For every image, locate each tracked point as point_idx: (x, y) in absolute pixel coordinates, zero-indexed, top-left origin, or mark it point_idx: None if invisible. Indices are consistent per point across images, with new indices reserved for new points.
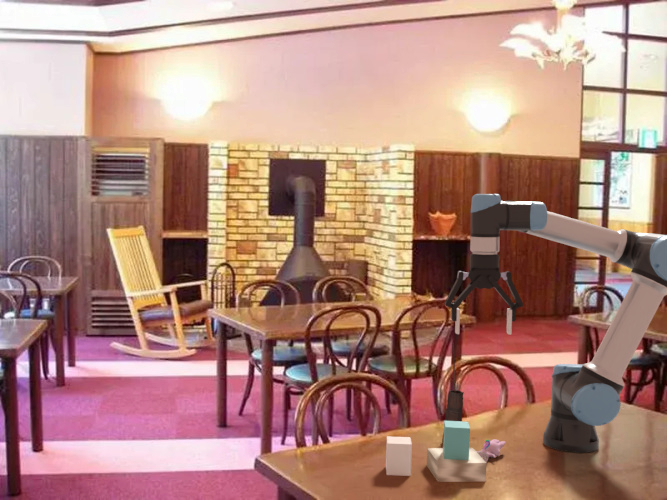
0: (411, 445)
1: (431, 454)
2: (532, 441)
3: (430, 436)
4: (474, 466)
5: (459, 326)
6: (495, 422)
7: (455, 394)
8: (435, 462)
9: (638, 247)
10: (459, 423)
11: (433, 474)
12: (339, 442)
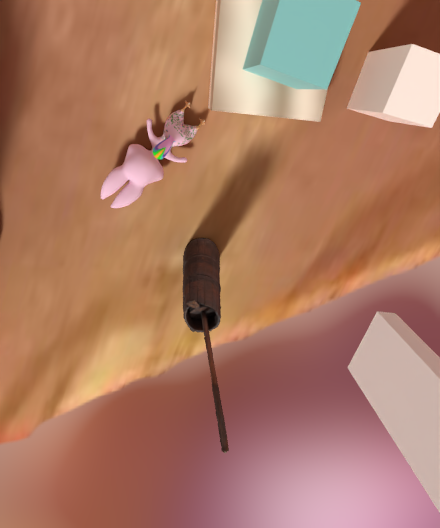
0: (410, 44)
1: None
2: (22, 253)
3: (227, 291)
4: None
5: (416, 352)
6: (74, 361)
7: (208, 303)
8: None
9: None
10: (296, 45)
11: None
12: (398, 268)
